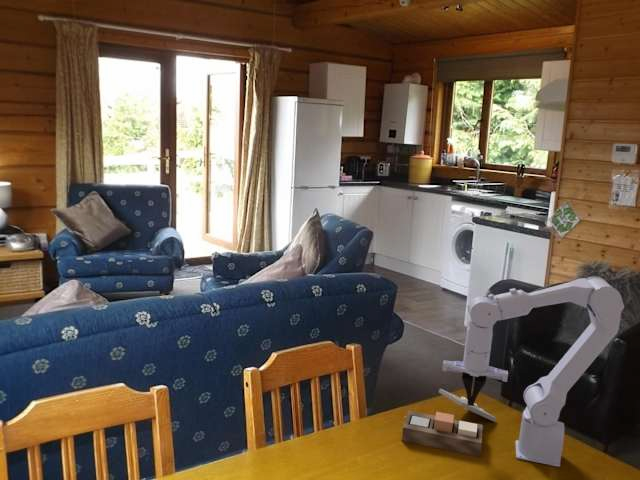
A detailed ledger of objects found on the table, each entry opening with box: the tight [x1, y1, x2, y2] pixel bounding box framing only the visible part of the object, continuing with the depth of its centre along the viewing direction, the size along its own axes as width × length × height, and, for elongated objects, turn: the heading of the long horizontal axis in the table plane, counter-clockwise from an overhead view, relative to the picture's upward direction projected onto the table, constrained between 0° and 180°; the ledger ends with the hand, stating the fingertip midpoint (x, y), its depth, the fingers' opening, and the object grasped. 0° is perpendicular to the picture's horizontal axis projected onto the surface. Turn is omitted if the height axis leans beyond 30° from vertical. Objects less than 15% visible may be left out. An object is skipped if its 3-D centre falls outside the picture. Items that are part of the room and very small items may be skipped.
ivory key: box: [458, 420, 478, 438], centre depth 142 cm, size 4×4×3 cm
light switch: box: [438, 388, 497, 423], centre depth 154 cm, size 8×6×14 cm
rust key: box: [434, 411, 455, 433], centre depth 143 cm, size 4×4×3 cm
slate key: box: [410, 416, 430, 428], centre depth 145 cm, size 4×4×3 cm
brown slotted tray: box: [401, 410, 483, 458], centre depth 144 cm, size 18×9×4 cm, turn 74°
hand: (470, 403), depth 141 cm, fingers closed
